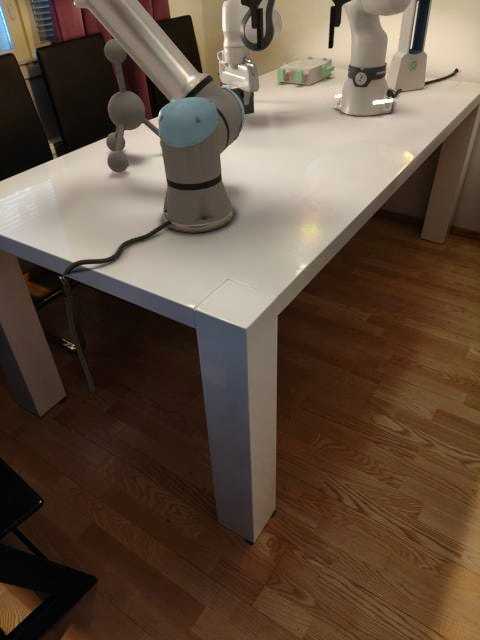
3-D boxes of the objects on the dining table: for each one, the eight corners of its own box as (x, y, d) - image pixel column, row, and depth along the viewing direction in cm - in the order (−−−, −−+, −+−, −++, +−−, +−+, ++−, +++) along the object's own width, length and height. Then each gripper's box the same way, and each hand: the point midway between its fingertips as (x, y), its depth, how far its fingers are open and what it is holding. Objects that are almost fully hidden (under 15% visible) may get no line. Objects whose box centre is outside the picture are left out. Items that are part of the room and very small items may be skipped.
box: (183, 127, 155) (180, 98, 149) (175, 123, 159) (172, 94, 154) (254, 112, 164) (253, 85, 159) (244, 109, 169) (243, 81, 164)
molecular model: (192, 164, 133) (178, 39, 115) (111, 178, 128) (83, 49, 109) (169, 139, 151) (154, 28, 132) (98, 152, 145) (72, 36, 127)
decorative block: (300, 55, 216) (341, 58, 206) (299, 71, 220) (340, 74, 210) (268, 66, 200) (311, 70, 190) (268, 83, 204) (310, 87, 194)
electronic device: (394, 92, 183) (407, -4, 164) (384, 88, 188) (396, -5, 170) (424, 88, 185) (440, -6, 166) (413, 84, 191) (428, -8, 172)
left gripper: (375, -102, 81) (362, 43, 94) (230, -91, 86) (236, 45, 99) (375, -105, 75) (360, 50, 88) (219, -93, 80) (227, 52, 93)
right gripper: (263, 58, 149) (264, 106, 157) (231, 50, 163) (233, 94, 171) (245, 61, 146) (247, 110, 155) (214, 53, 161) (217, 97, 169)
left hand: (295, 48), depth 94 cm, fingers open, 13 cm apart
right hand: (239, 101), depth 163 cm, fingers closed on box, 6 cm apart
